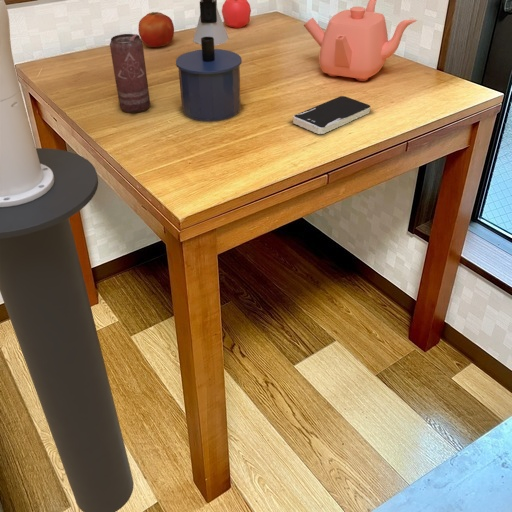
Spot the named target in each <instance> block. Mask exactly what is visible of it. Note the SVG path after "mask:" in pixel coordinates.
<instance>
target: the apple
mask: <svg viewBox="0 0 512 512" xmlns="http://www.w3.org/2000/svg"><path fill="white" fill-rule="evenodd" d="M251 12H252V8H251V4H250V3H249V1H248V0H225V1H224V2H223V3H222V7H221V14H222V19H223V22H224V23H223V24H224V25H227V26H228V27H230V28H232V29H233V28H234V29H241V28H244V27H245V26H246V25H248V23H250V19H251Z"/></svg>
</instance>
